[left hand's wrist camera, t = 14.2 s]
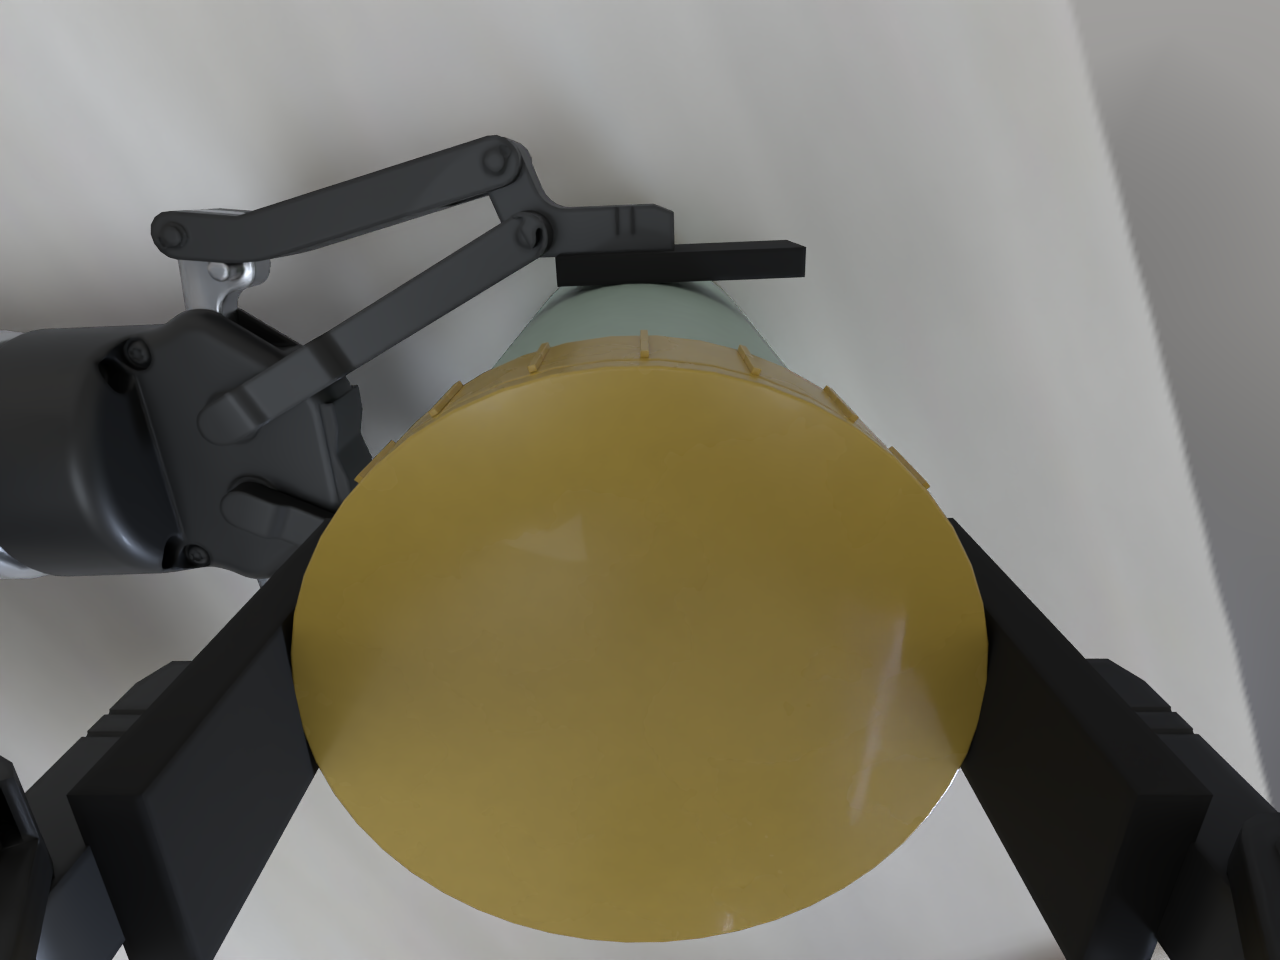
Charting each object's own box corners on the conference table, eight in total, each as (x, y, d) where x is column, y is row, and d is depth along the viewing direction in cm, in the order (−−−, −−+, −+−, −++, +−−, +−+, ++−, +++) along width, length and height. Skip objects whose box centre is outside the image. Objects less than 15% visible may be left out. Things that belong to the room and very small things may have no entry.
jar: (484, 435, 29) (264, 786, 12) (579, 212, 26) (464, 261, 9) (691, 527, 30) (755, 954, 13) (804, 326, 27) (1072, 555, 10)
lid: (758, 906, 15) (776, 1009, 13) (271, 737, 13) (210, 828, 11) (1064, 499, 12) (1147, 559, 10) (460, 206, 10) (418, 212, 8)
